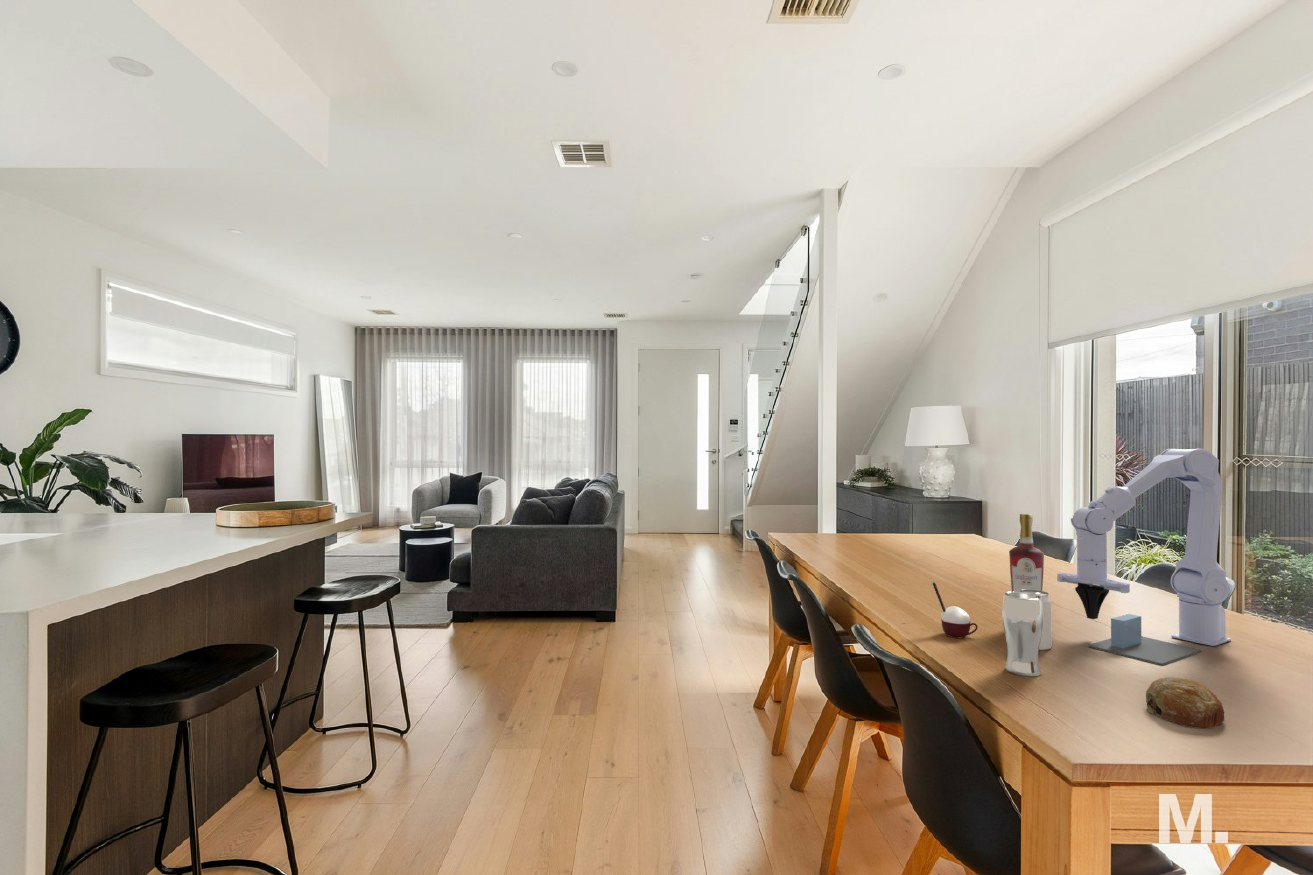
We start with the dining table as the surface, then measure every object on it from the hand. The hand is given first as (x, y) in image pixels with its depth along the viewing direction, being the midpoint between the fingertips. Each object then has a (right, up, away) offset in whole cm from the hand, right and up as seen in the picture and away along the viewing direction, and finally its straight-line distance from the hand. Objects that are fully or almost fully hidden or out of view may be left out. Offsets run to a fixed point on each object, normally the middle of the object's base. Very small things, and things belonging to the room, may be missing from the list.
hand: (1092, 618), depth 147 cm
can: (-17, -5, -6) cm, 19 cm away
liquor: (-12, -5, +6) cm, 14 cm away
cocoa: (-31, -5, +2) cm, 31 cm away
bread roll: (-14, -4, -43) cm, 45 cm away
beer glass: (-29, -4, -22) cm, 37 cm away
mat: (+6, -5, -8) cm, 11 cm away
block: (+3, -4, -6) cm, 8 cm away
